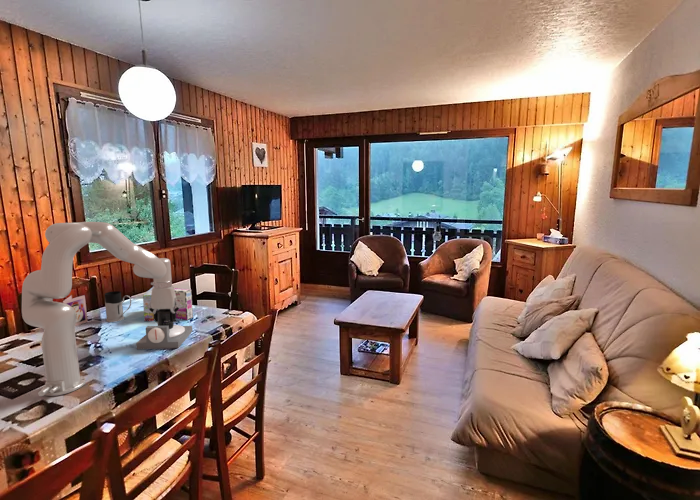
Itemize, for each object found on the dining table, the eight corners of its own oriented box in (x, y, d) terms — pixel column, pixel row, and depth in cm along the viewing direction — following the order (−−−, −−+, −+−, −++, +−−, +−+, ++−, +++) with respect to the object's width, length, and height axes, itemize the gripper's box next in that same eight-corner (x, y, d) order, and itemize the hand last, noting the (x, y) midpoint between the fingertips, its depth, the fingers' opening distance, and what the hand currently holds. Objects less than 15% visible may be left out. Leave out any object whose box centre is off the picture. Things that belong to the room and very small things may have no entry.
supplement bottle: (167, 331, 171) (165, 306, 169) (154, 330, 172) (152, 305, 170) (177, 326, 177) (175, 302, 175) (164, 325, 179) (163, 301, 177)
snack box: (155, 321, 199) (153, 294, 197) (143, 322, 198) (141, 295, 196) (165, 309, 220) (163, 284, 217) (155, 309, 218) (153, 285, 216)
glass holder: (113, 316, 206) (110, 290, 204) (137, 317, 205) (135, 291, 203) (102, 321, 197) (99, 295, 195) (127, 322, 197) (125, 295, 194)
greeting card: (67, 329, 186) (64, 301, 184) (56, 328, 188) (53, 300, 185) (88, 322, 197) (85, 295, 194) (78, 320, 199) (75, 294, 196)
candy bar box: (193, 317, 206) (192, 289, 203) (187, 320, 201) (185, 291, 198) (177, 315, 209) (175, 287, 206) (170, 318, 204) (168, 289, 201)
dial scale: (177, 348, 165) (176, 327, 163) (135, 350, 163) (134, 328, 162) (192, 331, 185) (191, 312, 184) (155, 332, 184) (153, 313, 182)
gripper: (139, 286, 167) (142, 324, 169) (179, 286, 168) (181, 323, 171) (147, 282, 174) (149, 318, 177) (184, 282, 176) (187, 317, 179)
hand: (165, 320), depth 174 cm, fingers closed on supplement bottle, 6 cm apart
